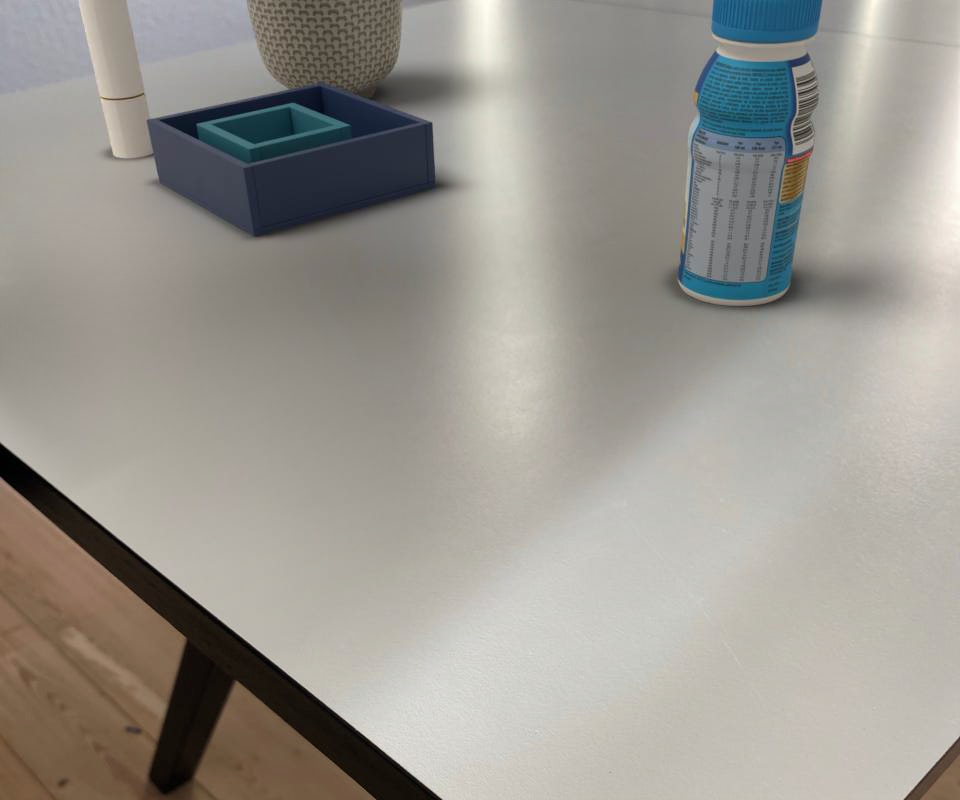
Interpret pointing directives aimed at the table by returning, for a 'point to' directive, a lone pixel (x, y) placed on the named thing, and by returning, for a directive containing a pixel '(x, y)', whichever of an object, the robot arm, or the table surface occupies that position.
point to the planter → (328, 41)
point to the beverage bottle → (749, 152)
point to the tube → (118, 76)
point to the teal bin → (272, 132)
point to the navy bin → (297, 162)
